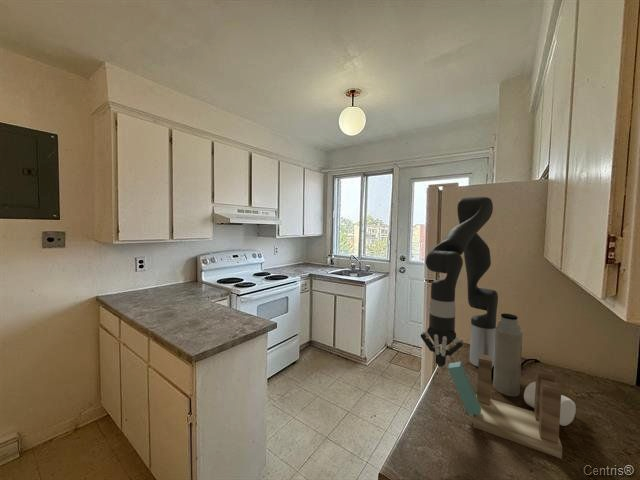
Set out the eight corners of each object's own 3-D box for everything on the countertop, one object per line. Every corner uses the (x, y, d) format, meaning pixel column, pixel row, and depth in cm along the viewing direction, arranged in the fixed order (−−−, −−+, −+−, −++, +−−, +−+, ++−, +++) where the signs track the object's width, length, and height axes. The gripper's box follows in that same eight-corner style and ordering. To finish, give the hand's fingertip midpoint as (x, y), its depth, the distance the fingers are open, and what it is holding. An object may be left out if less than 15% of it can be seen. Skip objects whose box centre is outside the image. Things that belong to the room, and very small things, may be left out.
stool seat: (474, 402, 90) (476, 352, 89) (551, 427, 79) (554, 369, 78) (472, 426, 79) (475, 369, 78) (561, 458, 68) (565, 392, 68)
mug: (556, 428, 79) (557, 402, 78) (522, 406, 88) (524, 383, 88) (584, 421, 82) (586, 396, 82) (549, 400, 92) (550, 378, 91)
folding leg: (467, 408, 84) (447, 363, 86) (481, 407, 81) (460, 361, 84) (466, 415, 80) (446, 368, 83) (481, 414, 78) (459, 366, 81)
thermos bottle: (519, 388, 98) (523, 314, 97) (519, 399, 92) (523, 320, 91) (493, 380, 103) (497, 310, 102) (492, 390, 97) (495, 315, 95)
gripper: (466, 313, 84) (464, 366, 85) (422, 306, 92) (421, 355, 92) (464, 320, 78) (462, 377, 79) (418, 312, 85) (416, 364, 86)
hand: (440, 365), depth 86 cm, fingers closed
